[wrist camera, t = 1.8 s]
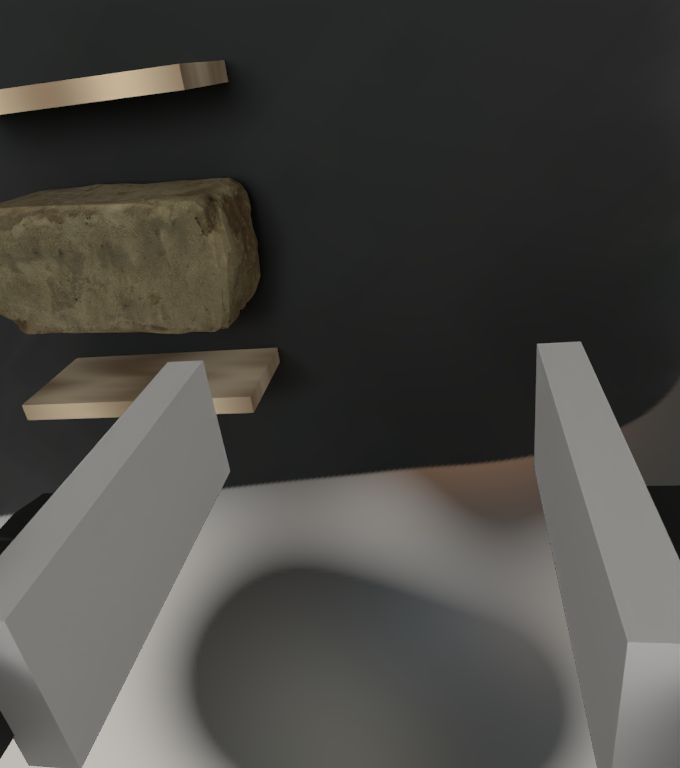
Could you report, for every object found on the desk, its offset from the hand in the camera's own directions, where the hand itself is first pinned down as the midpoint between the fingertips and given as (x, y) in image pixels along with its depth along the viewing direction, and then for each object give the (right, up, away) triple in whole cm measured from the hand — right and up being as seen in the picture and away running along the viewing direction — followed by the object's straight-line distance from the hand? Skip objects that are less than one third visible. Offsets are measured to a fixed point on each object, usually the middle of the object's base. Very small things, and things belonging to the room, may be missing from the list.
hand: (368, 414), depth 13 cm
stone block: (-10, +7, +18) cm, 21 cm away
